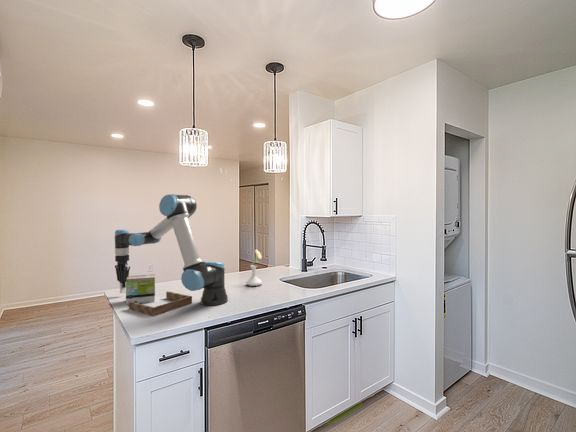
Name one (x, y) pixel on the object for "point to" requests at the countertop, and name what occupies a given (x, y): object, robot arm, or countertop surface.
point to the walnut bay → (153, 311)
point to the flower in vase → (254, 280)
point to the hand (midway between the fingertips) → (122, 292)
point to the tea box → (140, 288)
